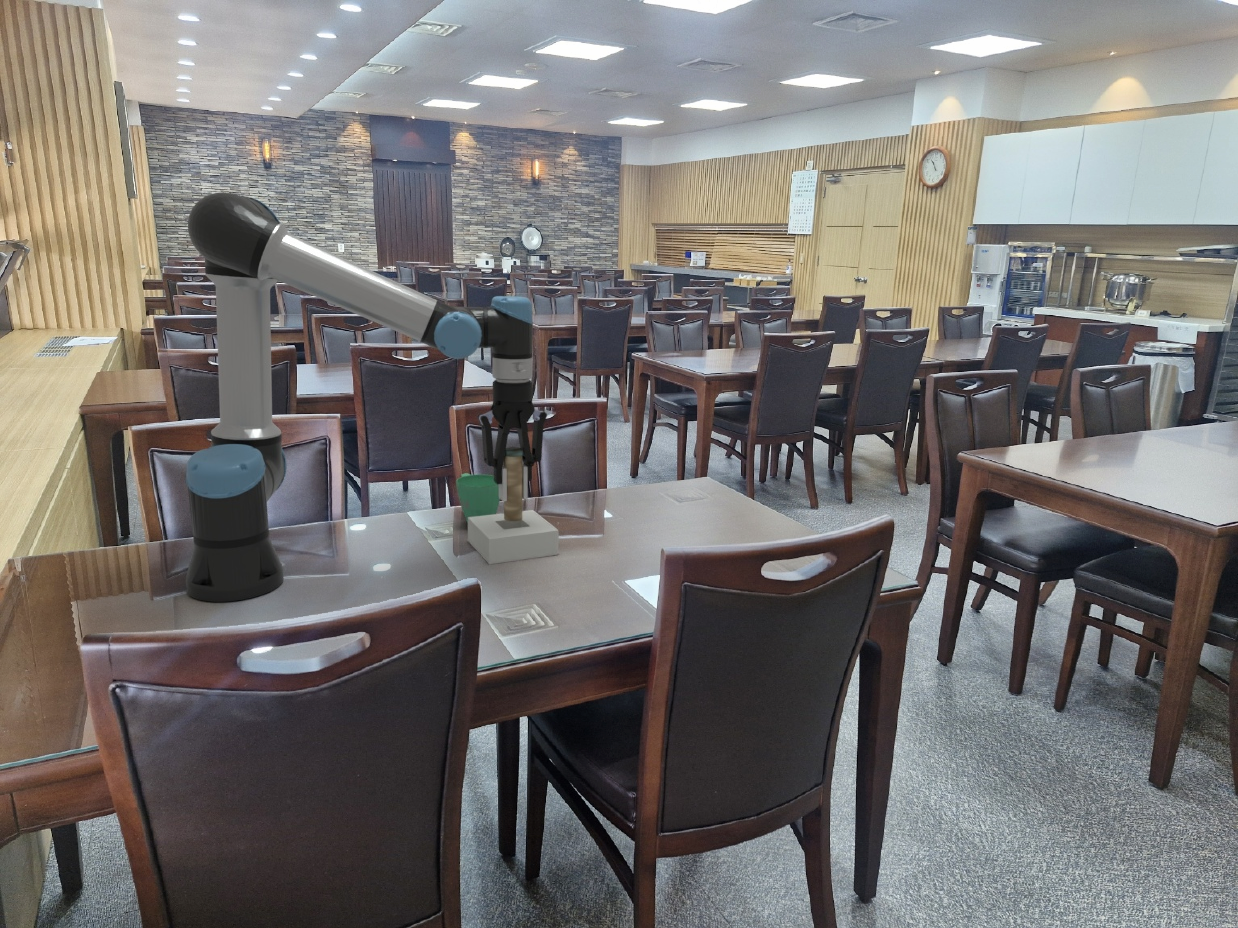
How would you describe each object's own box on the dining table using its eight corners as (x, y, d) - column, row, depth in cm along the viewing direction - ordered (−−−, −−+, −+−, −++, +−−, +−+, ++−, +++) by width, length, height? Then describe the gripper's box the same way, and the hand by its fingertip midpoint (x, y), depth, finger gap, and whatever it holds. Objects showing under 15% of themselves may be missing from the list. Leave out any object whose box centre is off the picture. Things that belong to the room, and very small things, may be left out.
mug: (510, 528, 173) (510, 483, 171) (467, 535, 168) (466, 489, 165) (483, 509, 185) (483, 467, 182) (442, 515, 180) (441, 472, 177)
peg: (507, 522, 158) (507, 452, 154) (501, 516, 161) (500, 448, 158) (525, 519, 159) (525, 450, 156) (518, 514, 163) (518, 446, 159)
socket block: (489, 564, 153) (489, 539, 151) (467, 540, 165) (467, 517, 163) (558, 554, 159) (558, 530, 158) (532, 532, 171) (532, 509, 170)
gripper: (475, 384, 147) (477, 508, 152) (560, 380, 154) (559, 498, 160) (464, 378, 153) (466, 497, 159) (546, 375, 160) (545, 489, 166)
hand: (513, 498), depth 159 cm, fingers closed on peg, 3 cm apart
